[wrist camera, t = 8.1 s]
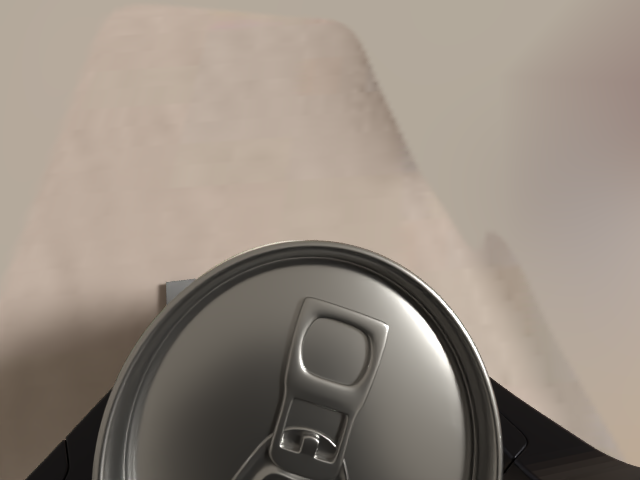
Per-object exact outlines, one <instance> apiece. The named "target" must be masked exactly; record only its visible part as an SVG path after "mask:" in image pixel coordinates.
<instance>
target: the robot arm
mask: <svg viewBox="0 0 640 480" xmlns="http://www.w3.org/2000/svg"><path fill="white" fill-rule="evenodd" d="M489 378H490V381H491V384H492V387H493V391H494V394H495V398H496V402H497V407H498V411H499V417H500V423H501V431H502V440H503V480H640V467H636V466H633V465H630V464H627V463H624V462H622V461H619V460H617V459H615V458H613V457H610V456H608V455H606V454H605V453H603V452H601V451H599V450H597V449H596V448H594V447H592V446H591V445H589V444H587V443H586V442H584V441H583V440H581V439H580V438H578V437H577V436H575V435H574V434H572V433H571V432H569V431H568V430H566V429H564V428H563V427H561V426H560V425H558V424H557V423H555V422H554V421H552V420H551V419H549V418H548V417H546V416H545V415H543V414H542V413H540V412H539V411H537V410H536V409H534V408H533V407H531V406H530V405H528V404H527V403H525V402H524V401H522V400H521V399H519V398H518V397H516V396H515V395H514V394H512V393H511V392H509V391H508V390H507V389H505V388H504V387H503V386H501V385H500V384H498V383H497V382H496V381H494V380H493V379H492V378H491V377H489ZM112 389H113V387H112ZM112 389H111V390H110V391H109V392H108V393H107V394H106V395H105V396H104V397H103V398H102V399H101V400H100V401H99V402H98V403H97V405H96V406H95V407H94V408H93V409H92V410H91V411H90V412H89V413H88V414H87V415H86V416H85V417H84V418H83V419H82V421H81V422H80V423H79V424H78V425H77V426H76V427H75V428H74V429H73V430H72V431H71V432H70V433H69V434H68V435H67V437H66V440H63V441H62V442H61V443H60V444H59V445H58V446H57V447H56V448H55V449H54V450H53V451H52V452H51V453H50V454H49V456H48V457H47V458H46V459H45V460H44V461H43V462H42V463H41V464H40V465H39V466H38V467H37V468H36V469H35V470H34V471H33V472H32V473H31V474H30V475H29V476H28V477H27V478H26V479H25V480H92V471H93V462H94V454H95V448H96V443H97V438H98V433H99V429H100V425H101V421H102V418H103V414H104V411H105V408H106V405H107V402H108V399H109V396H110V394H111V391H112Z"/></svg>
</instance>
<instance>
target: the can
mask: <svg viewBox="0 0 640 480" xmlns="http://www.w3.org/2000/svg"><path fill="white" fill-rule="evenodd" d="M92 480H503V440H502V431H501V423H500V417H499V411H498V407H497V402H496V398H495V394H494V391H493V387H492V384H491V381H490V378H489V375H488V372H487V370H486V367H485V365H484V362H483V360H482V358H481V355H480V353H479V351H478V349H477V347H476V345H475V344H474V342H473V340H472V338H471V336H470V335H469V333H468V331H467V330H466V328H465V327H464V325H463V324H462V322H461V321H460V319H459V318H458V317H457V315H456V314H455V313H454V311H453V310H452V309H451V308H450V307H449V305H448V304H447V303H446V302H445V301H444V300H443V299H442V298H441V296H440V295H439V294H438V293H437V292H435V291H434V290H433V289H432V288H431V287H430V286H429V285H428V284H427V283H426V282H424V281H423V280H422V279H421V278H419V277H418V276H417V275H415V274H414V273H413V272H411V271H410V270H408V269H407V268H405V267H403V266H402V265H400V264H398V263H397V262H395V261H393V260H391V259H389V258H387V257H385V256H383V255H380V254H378V253H375V252H373V251H370V250H367V249H364V248H361V247H357V246H354V245H349V244H344V243H339V242H331V241H318V240H294V241H283V242H276V243H271V244H266V245H263V246H259V247H256V248H252V249H250V250H247V251H244V252H242V253H239V254H237V255H235V256H233V257H231V258H229V259H227V260H225V261H223V262H221V263H220V264H218V265H216V266H215V267H213V268H212V269H210V270H209V271H207V272H206V273H204V274H203V275H202V276H200V277H199V278H198V279H196V280H195V281H194V282H192V283H191V284H190V285H189V286H187V287H186V288H185V289H184V290H183V291H181V292H180V293H179V294H178V295H177V296H176V297H175V298H174V299H173V300H172V301H171V302H170V303H169V304H168V305H167V306H166V307H165V308H164V309H163V310H162V311H161V312H160V313H159V314H158V315H157V317H156V318H155V319H154V320H153V321H152V323H151V324H150V325H149V326H148V328H147V329H146V330H145V332H144V333H143V334H142V336H141V337H140V339H139V340H138V342H137V343H136V345H135V346H134V348H133V350H132V351H131V353H130V354H129V356H128V358H127V360H126V362H125V363H124V365H123V367H122V369H121V371H120V373H119V375H118V377H117V380H116V382H115V384H114V386H113V389H112V391H111V394H110V396H109V399H108V402H107V405H106V408H105V411H104V414H103V418H102V421H101V425H100V429H99V433H98V438H97V443H96V448H95V454H94V462H93V471H92Z"/></svg>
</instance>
